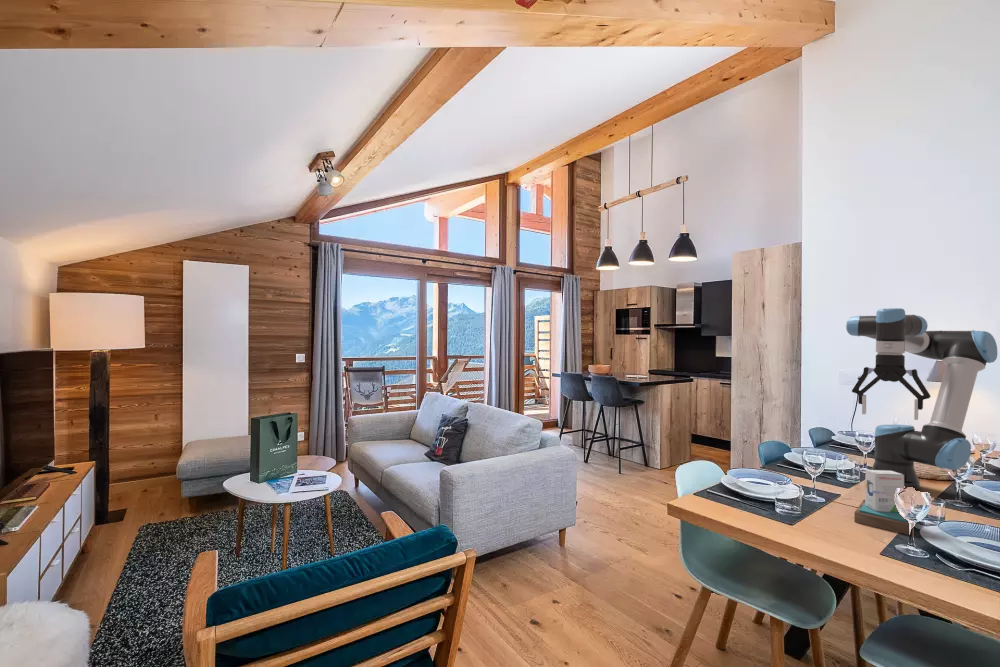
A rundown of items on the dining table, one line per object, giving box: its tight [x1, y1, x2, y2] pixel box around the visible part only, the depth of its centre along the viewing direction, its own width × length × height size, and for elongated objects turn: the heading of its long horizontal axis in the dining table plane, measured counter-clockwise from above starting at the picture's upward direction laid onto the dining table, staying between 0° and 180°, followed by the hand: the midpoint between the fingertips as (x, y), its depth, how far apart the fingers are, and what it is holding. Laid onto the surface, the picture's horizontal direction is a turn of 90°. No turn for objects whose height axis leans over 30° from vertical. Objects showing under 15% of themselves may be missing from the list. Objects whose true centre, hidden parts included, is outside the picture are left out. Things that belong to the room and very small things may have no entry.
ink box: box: [864, 469, 904, 512], centre depth 145 cm, size 9×5×12 cm, turn 86°
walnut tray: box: [854, 499, 909, 536], centre depth 145 cm, size 16×13×4 cm
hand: (889, 416), depth 156 cm, fingers open, 13 cm apart
